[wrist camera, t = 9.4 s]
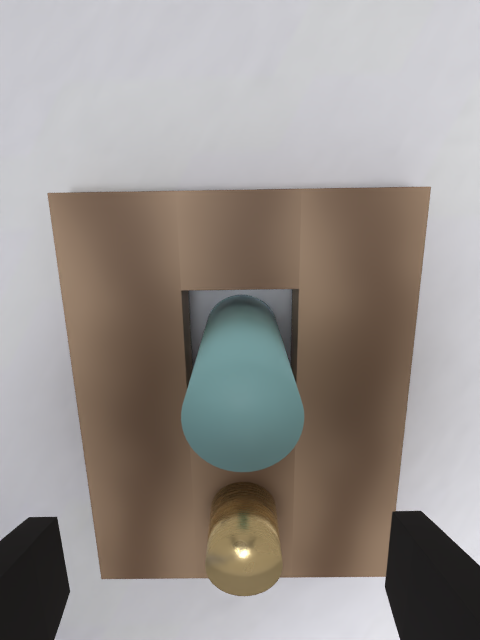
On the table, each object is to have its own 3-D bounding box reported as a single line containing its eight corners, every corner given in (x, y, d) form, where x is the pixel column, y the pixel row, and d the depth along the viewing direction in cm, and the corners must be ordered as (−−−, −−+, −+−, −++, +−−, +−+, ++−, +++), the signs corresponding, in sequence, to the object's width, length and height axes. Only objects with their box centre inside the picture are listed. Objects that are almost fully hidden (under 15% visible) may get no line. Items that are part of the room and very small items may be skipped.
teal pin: (207, 362, 18) (183, 472, 11) (205, 295, 18) (178, 362, 10) (276, 362, 18) (302, 471, 11) (277, 294, 18) (306, 361, 10)
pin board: (114, 545, 21) (77, 643, 16) (70, 195, 16) (-1, 189, 12) (375, 543, 21) (414, 641, 16) (408, 189, 16) (478, 180, 11)
